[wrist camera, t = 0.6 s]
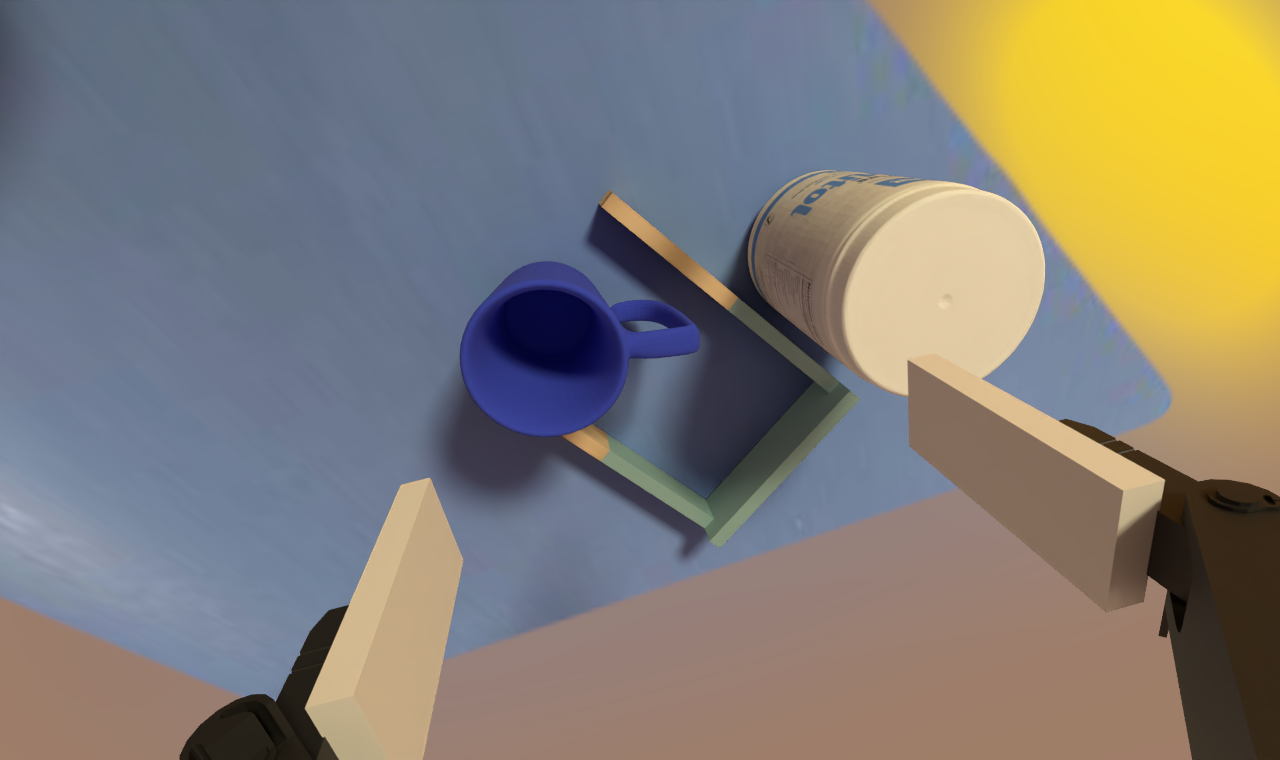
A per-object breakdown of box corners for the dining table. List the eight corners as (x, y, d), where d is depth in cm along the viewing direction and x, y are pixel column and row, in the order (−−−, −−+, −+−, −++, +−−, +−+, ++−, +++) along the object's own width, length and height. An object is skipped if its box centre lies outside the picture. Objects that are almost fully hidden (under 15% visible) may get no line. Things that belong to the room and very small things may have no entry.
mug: (673, 358, 41) (707, 419, 31) (494, 378, 40) (475, 448, 30) (667, 235, 38) (702, 263, 28) (472, 253, 37) (444, 289, 27)
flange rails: (477, 364, 39) (472, 378, 37) (609, 190, 36) (612, 192, 34) (598, 444, 42) (600, 461, 40) (728, 289, 39) (738, 297, 37)
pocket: (598, 444, 42) (602, 472, 39) (728, 289, 39) (745, 303, 36) (706, 515, 46) (720, 547, 42) (833, 377, 43) (860, 399, 39)
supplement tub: (852, 139, 37) (1023, 133, 23) (903, 270, 40) (1078, 331, 27) (716, 222, 38) (805, 263, 24) (778, 343, 41) (887, 439, 28)
